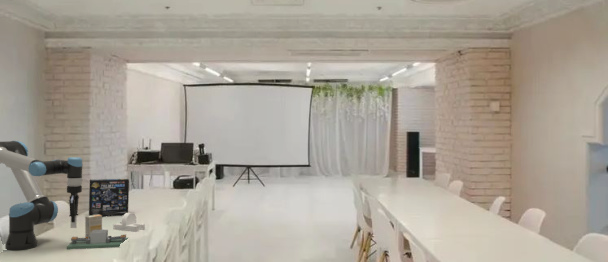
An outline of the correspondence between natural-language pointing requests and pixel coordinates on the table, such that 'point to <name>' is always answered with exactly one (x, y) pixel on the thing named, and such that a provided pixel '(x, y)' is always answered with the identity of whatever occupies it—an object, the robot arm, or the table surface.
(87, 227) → the supplement box
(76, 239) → the block
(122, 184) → the box
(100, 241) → the board
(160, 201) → the table surface
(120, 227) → the white slotted holder
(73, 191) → the robot arm
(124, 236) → the strap
